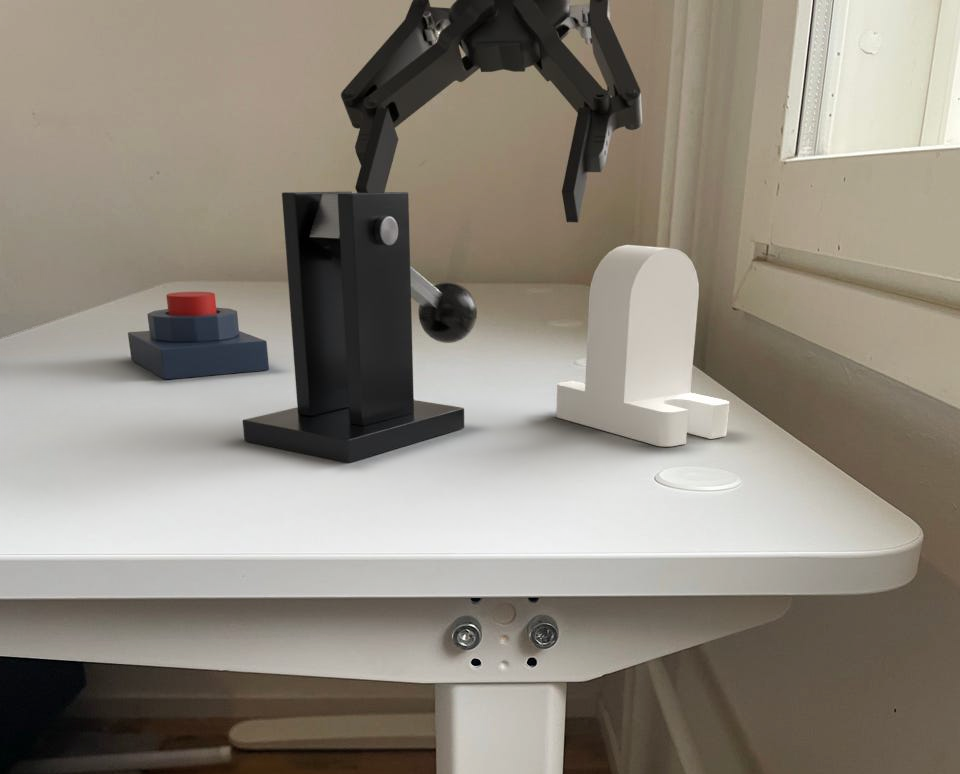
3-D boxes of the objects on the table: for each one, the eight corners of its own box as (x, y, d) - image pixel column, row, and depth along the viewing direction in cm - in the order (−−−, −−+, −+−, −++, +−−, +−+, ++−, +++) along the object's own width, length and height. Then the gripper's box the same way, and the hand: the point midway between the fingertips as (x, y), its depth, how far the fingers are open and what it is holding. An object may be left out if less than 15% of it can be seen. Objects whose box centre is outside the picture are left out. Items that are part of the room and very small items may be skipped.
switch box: (131, 360, 82) (124, 308, 81) (227, 352, 86) (222, 302, 84) (164, 379, 74) (157, 322, 73) (269, 370, 78) (264, 315, 76)
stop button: (163, 316, 79) (160, 293, 78) (209, 313, 81) (206, 290, 80) (176, 321, 76) (173, 297, 76) (223, 318, 78) (221, 294, 77)
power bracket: (364, 411, 65) (353, 190, 59) (464, 428, 60) (463, 192, 55) (244, 441, 57) (220, 192, 52) (348, 463, 53) (334, 194, 48)
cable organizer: (615, 405, 66) (624, 240, 62) (730, 435, 59) (750, 249, 55) (551, 415, 63) (557, 243, 59) (664, 447, 56) (679, 253, 52)
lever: (432, 349, 65) (449, 296, 65) (477, 355, 63) (494, 300, 63) (295, 246, 54) (316, 182, 54) (345, 249, 52) (366, 183, 52)
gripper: (704, -1, 72) (662, 250, 66) (373, 8, 78) (307, 239, 72) (706, -107, 65) (659, 163, 59) (342, -89, 71) (265, 158, 65)
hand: (465, 205), depth 65 cm, fingers open, 13 cm apart
